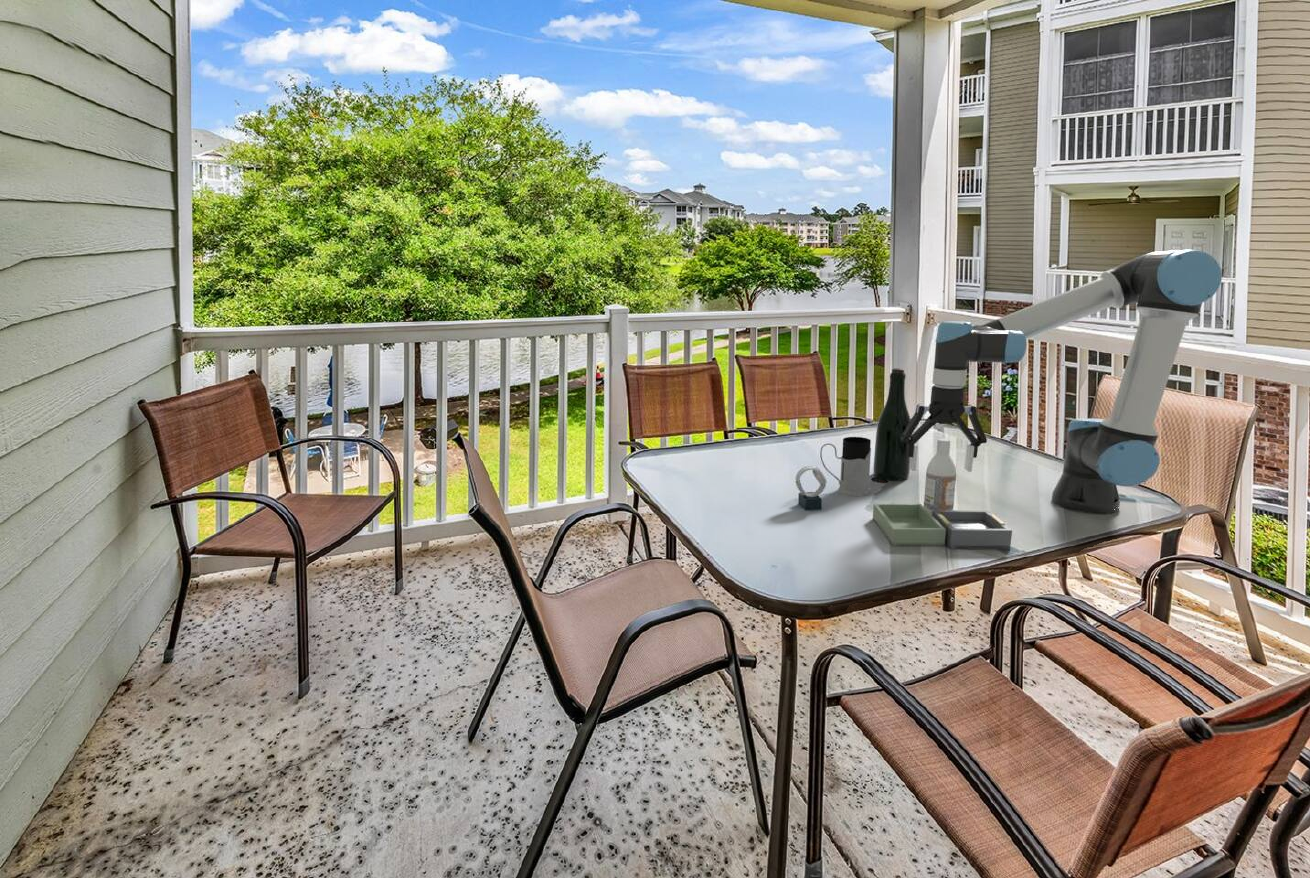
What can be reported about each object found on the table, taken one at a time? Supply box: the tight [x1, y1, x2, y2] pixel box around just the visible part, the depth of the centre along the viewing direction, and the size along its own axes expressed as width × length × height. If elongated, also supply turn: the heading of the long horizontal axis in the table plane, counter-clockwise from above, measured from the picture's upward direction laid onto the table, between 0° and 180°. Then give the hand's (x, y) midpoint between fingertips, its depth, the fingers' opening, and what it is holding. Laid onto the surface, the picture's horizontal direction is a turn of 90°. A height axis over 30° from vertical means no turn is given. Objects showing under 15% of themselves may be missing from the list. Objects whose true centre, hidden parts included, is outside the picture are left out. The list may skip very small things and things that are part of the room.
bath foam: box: [923, 438, 957, 515], centre depth 170 cm, size 7×7×20 cm
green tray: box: [872, 503, 946, 547], centre depth 162 cm, size 12×18×4 cm, turn 177°
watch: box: [794, 465, 828, 512], centre depth 180 cm, size 6×8×11 cm
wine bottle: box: [872, 367, 912, 481], centre depth 203 cm, size 10×10×33 cm
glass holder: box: [819, 436, 872, 497], centre depth 192 cm, size 9×14×15 cm, turn 80°
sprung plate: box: [949, 521, 992, 529], centre depth 157 cm, size 10×10×1 cm
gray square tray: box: [932, 510, 1013, 550], centre depth 157 cm, size 13×13×5 cm
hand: (940, 469), depth 170 cm, fingers open, 13 cm apart
